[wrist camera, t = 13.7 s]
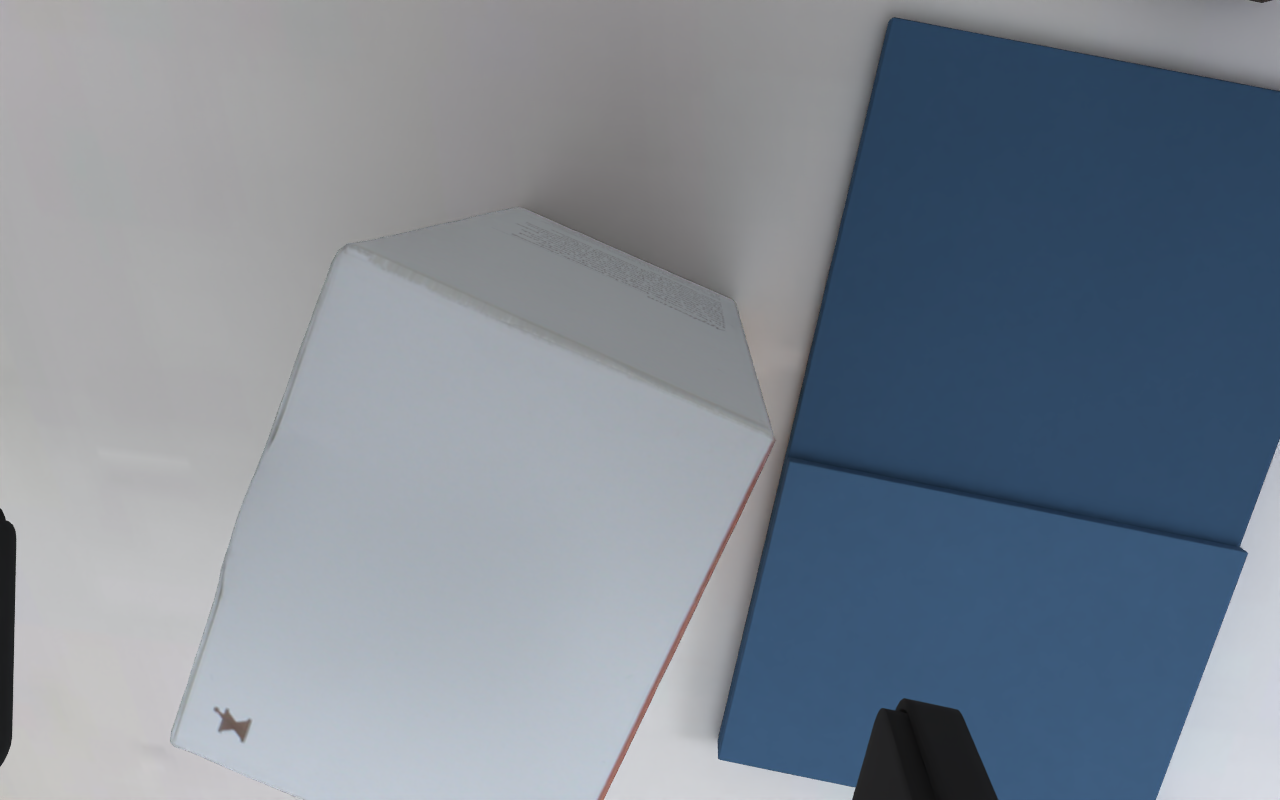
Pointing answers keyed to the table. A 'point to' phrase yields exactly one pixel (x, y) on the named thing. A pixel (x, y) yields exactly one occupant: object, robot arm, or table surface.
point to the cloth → (1023, 419)
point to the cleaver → (1261, 1)
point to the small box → (477, 519)
